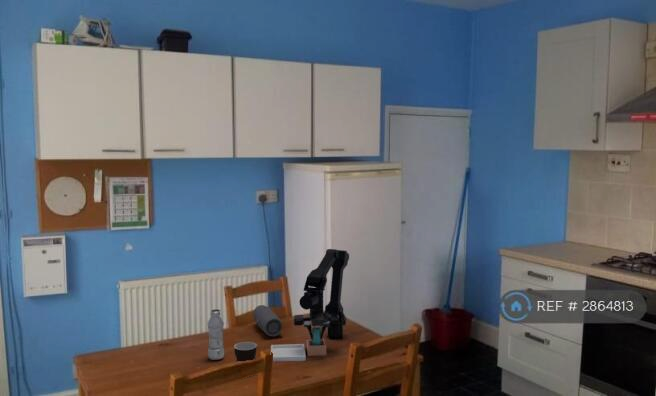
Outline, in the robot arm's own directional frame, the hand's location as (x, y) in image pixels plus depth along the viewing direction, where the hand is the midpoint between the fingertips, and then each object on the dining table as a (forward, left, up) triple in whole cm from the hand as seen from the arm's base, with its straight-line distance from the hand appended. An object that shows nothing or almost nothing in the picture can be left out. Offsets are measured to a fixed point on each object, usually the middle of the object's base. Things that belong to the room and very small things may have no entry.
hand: (316, 339), depth 227 cm
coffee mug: (+28, +16, -6) cm, 33 cm away
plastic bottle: (+41, +4, -6) cm, 42 cm away
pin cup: (0, 0, -5) cm, 5 cm away
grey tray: (+12, +2, -5) cm, 13 cm away
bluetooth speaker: (+21, -28, -6) cm, 35 cm away
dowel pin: (0, 0, -5) cm, 5 cm away
